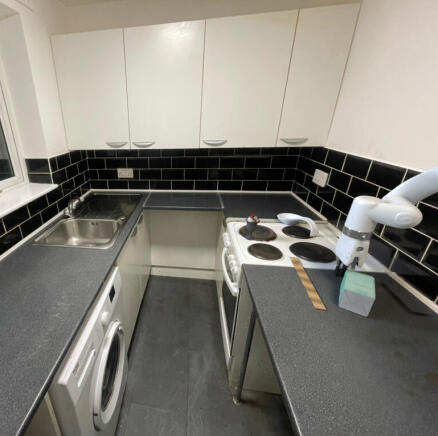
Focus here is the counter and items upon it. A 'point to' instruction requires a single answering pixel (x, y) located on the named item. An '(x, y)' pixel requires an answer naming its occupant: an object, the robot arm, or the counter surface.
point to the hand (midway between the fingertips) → (339, 275)
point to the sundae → (251, 225)
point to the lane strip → (307, 284)
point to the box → (357, 293)
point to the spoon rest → (294, 219)
